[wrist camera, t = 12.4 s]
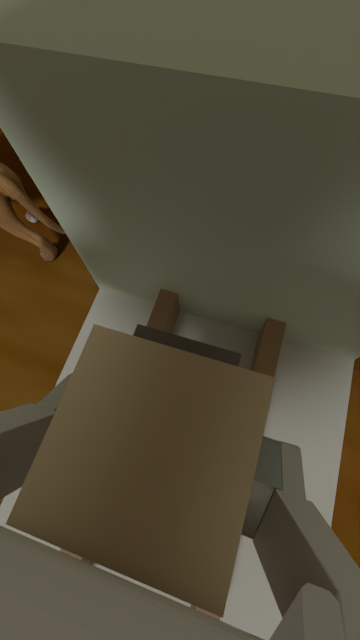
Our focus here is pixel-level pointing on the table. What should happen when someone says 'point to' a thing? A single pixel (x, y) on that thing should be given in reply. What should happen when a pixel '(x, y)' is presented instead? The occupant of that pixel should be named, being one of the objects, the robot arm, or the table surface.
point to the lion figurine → (6, 186)
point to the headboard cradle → (207, 197)
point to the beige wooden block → (151, 462)
